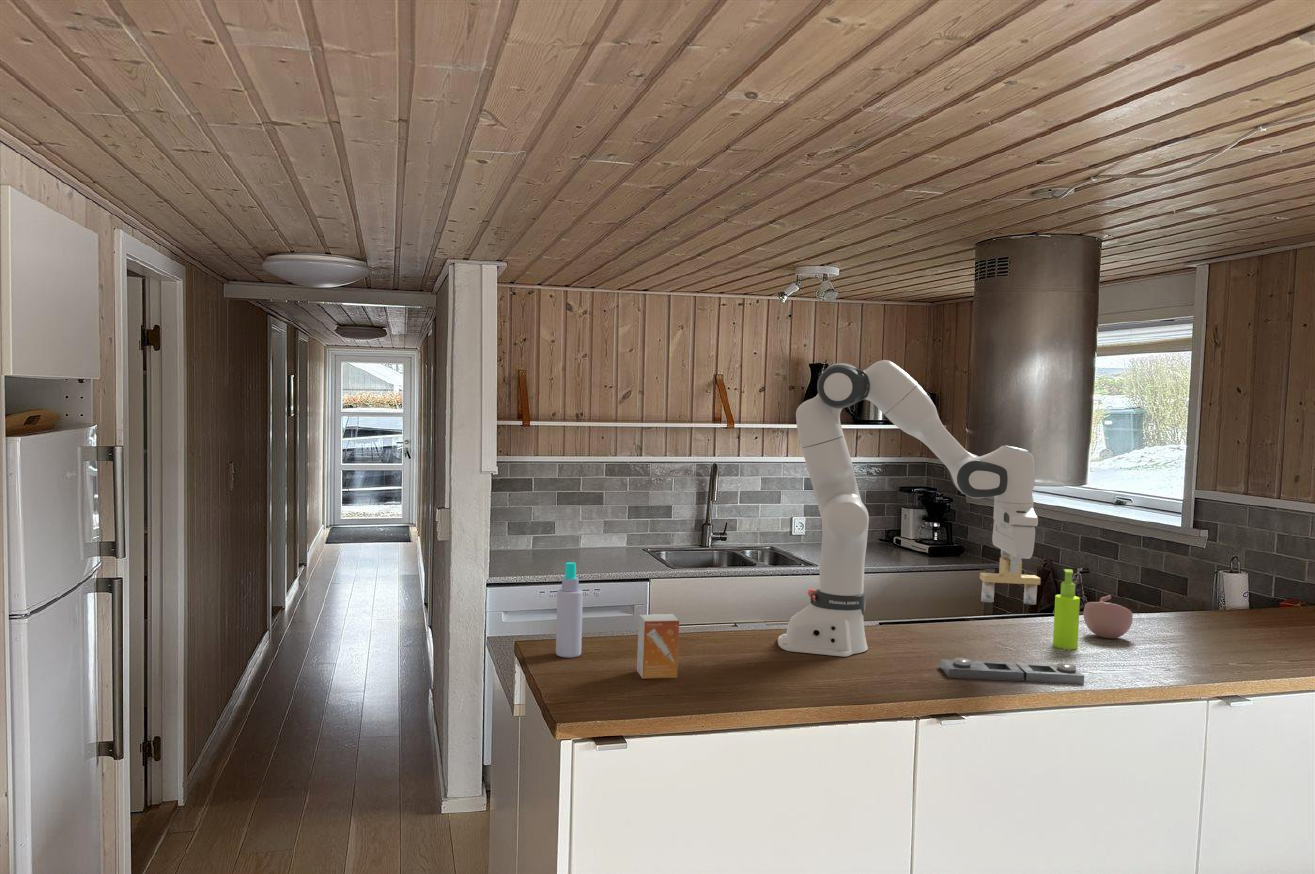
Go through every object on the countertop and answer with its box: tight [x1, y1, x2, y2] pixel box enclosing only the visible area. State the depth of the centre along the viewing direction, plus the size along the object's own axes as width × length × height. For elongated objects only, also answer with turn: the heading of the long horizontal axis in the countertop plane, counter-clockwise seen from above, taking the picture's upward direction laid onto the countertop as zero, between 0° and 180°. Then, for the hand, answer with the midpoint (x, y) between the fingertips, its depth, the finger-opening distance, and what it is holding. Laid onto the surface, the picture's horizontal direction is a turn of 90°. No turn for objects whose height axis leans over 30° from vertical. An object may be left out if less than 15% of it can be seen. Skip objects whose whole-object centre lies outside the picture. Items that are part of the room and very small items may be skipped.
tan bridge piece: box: [979, 556, 1042, 605], centre depth 222 cm, size 13×4×10 cm, turn 86°
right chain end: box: [1014, 662, 1085, 685], centre depth 213 cm, size 13×8×3 cm, turn 86°
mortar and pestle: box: [1083, 594, 1134, 640], centre depth 251 cm, size 12×12×12 cm
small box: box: [636, 613, 680, 680], centre depth 206 cm, size 8×6×13 cm
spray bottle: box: [555, 561, 584, 659], centre depth 219 cm, size 6×6×22 cm
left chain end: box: [939, 657, 1025, 682], centre depth 214 cm, size 17×8×3 cm, turn 86°
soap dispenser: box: [1052, 568, 1081, 650], centre depth 241 cm, size 6×7×20 cm
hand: (1010, 570), depth 222 cm, fingers closed on tan bridge piece, 4 cm apart
